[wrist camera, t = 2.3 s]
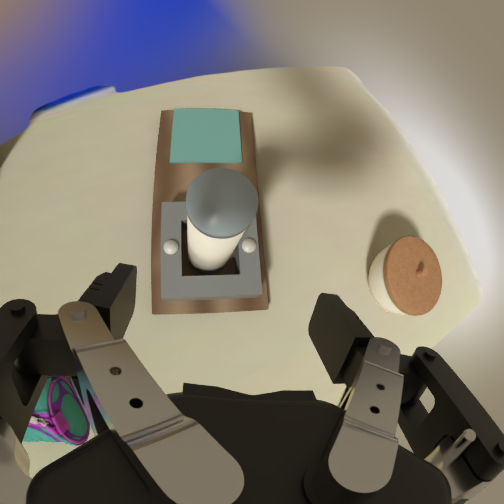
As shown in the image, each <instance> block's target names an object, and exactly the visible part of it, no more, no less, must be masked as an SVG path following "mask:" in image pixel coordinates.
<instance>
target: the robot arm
mask: <svg viewBox="0 0 504 504" xmlns="http://www.w3.org/2000/svg"><path fill="white" fill-rule="evenodd" d="M136 276H137V267H136V266H133V265H128V264H122V263H119V264H118V265H117V266H116V268H115V269H114V270H113V272H112V273H108V272H105V273H103V274H101V275H99V276H97V277H96V278H95V280H94V281H93V282H92V284H91V285H90V286H89V287H88V288H87V290H86V291H85V292H84V294H83V295H82V296H81V297H80V299H79V300H78V301H75V302H69V303H66V304H64V305H63V306H62V307H60V309H59V311H58V314H56V315H45V314H37V311H36V306H35V305H34V303H32V302H31V301H29V300H25V299H16V300H11V301H9V302H7V303H5V304H4V305H3V306H2V307H1V308H0V504H464V503H465V502H466V501H467V500H469V499H470V498H472V497H474V496H475V495H476V494H478V493H479V492H480V491H481V490H482V489H484V488H485V487H486V486H487V485H488V484H489V483H491V482H492V481H493V480H494V479H495V478H496V476H497V475H498V474H499V473H500V472H501V471H502V470H504V434H503V433H502V432H501V430H500V429H499V428H498V426H497V425H496V424H495V422H494V421H493V420H492V418H491V417H490V416H489V414H488V413H487V412H486V411H485V409H484V408H483V407H482V405H481V404H480V403H479V402H478V400H477V399H476V398H475V397H474V396H473V394H472V393H471V392H470V390H469V389H468V388H467V387H466V385H465V384H464V383H463V382H462V381H461V379H460V378H459V377H458V376H457V375H456V373H455V372H454V371H453V370H452V369H451V368H450V366H449V365H448V364H447V363H446V362H445V361H444V359H443V358H442V357H441V356H440V355H439V354H438V353H437V352H435V351H434V350H432V349H430V348H427V347H417V348H416V350H415V352H414V354H413V355H412V356H407V355H402V354H400V349H399V348H398V346H397V345H395V344H394V343H393V342H391V341H389V340H387V339H384V338H380V337H374V336H373V335H372V333H371V332H370V331H369V330H368V328H367V327H366V326H365V325H364V324H363V322H362V321H361V320H360V319H359V317H358V316H357V315H356V313H355V312H354V311H352V310H351V309H350V308H348V307H347V306H346V305H345V303H344V302H343V301H342V300H341V298H340V297H339V296H338V295H335V294H327V293H321V294H320V295H319V297H318V299H317V302H316V305H315V308H314V311H313V314H312V317H311V320H310V323H309V336H310V338H311V340H312V342H313V344H314V346H315V348H316V350H317V352H318V354H319V356H320V358H321V360H322V362H323V364H324V366H325V368H326V370H327V372H328V374H329V376H330V378H331V380H332V382H333V384H340V383H345V384H346V388H345V390H344V392H343V394H342V396H341V399H340V401H339V403H338V405H337V406H336V405H333V404H331V403H328V402H325V401H321V400H316V398H315V395H314V393H313V391H278V392H272V393H266V394H260V395H248V394H243V393H239V392H235V391H231V390H228V389H224V388H220V387H215V386H206V385H197V384H189V383H184V384H183V392H180V393H172V394H167V395H166V394H165V393H164V392H163V390H162V389H161V388H160V387H159V385H158V384H157V383H156V382H155V380H154V379H153V378H152V376H151V375H150V374H149V372H148V371H147V370H146V368H145V367H144V366H143V364H142V363H141V362H140V360H139V359H138V357H137V356H136V355H135V353H134V352H133V350H132V349H131V348H130V346H129V345H128V343H127V342H126V340H125V339H123V337H124V334H125V332H126V329H127V327H128V324H129V322H130V320H131V317H132V315H133V312H134V307H135V297H136ZM49 376H69V377H70V380H71V382H72V385H73V387H74V389H75V392H76V394H77V396H78V398H79V401H80V403H81V405H82V407H83V409H84V411H85V413H86V416H87V418H88V421H89V423H90V426H91V428H92V431H93V433H94V435H95V437H94V438H92V439H90V440H89V441H87V442H86V443H84V444H82V445H81V446H79V447H77V448H76V449H74V450H73V451H71V452H69V453H68V454H66V455H64V456H63V457H61V458H59V459H57V460H56V461H54V462H52V463H51V464H49V465H47V466H46V467H44V468H43V469H41V470H40V471H39V472H38V473H37V474H36V475H35V476H34V477H33V479H32V478H30V475H29V467H30V460H29V456H28V454H27V452H26V450H25V449H24V447H23V446H22V441H23V438H24V435H25V433H26V430H27V427H28V425H29V422H30V419H31V417H32V414H33V412H34V409H35V407H36V404H37V402H38V400H39V397H40V395H41V393H42V390H43V388H44V386H45V384H46V381H47V379H48V377H49ZM427 387H428V389H429V390H430V391H431V393H432V394H433V396H434V398H435V405H434V408H433V409H432V410H431V412H430V413H429V414H428V412H427V410H426V409H425V407H424V406H423V404H422V403H421V401H420V400H419V398H420V397H421V395H422V394H423V392H424V391H425V389H426V388H427ZM397 423H398V424H399V426H400V428H401V429H402V431H403V433H404V435H405V437H406V439H407V440H408V443H409V445H410V447H411V448H412V450H413V452H414V453H412V452H410V451H409V450H407V449H405V448H404V447H402V446H400V445H399V444H398V439H397V438H396V437H395V433H396V428H397Z"/></svg>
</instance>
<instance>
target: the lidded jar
mask: <svg viewBox="0 0 504 504" xmlns="http://www.w3.org/2000/svg"><path fill="white" fill-rule="evenodd" d="M368 284H369V290H370V293H371V295H372V297H373V299H374V301H375V302H376V303H377V304H378V306H379V307H381V308H382V309H383V310H385V311H387V312H388V313H391V314H394V315H400V316H409V315H413V316H416V315H423V314H425V313H427V312H429V311H430V310H431V309H432V308H433V307H434V306H435V304H436V303H437V301H438V299H439V296H440V293H441V287H442V274H441V269H440V265H439V262H438V259H437V257H436V255H435V253H434V251H433V250H432V249H431V247H430V246H429V245H428V244H427V243H426V242H424V241H423V240H421V239H420V238H418V237H415V236H405V237H402V238H400V239H398V240H396V241H395V242H394V243H392V244H390V245H388V246H387V247H385V248H384V249H383V250H382V251H381V252H380V253H379V254H378V255H377V256H376V257H375V259H374V260H373V262H372V264H371V267H370V270H369V275H368Z"/></svg>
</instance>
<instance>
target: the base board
mask: <svg viewBox="0 0 504 504" xmlns="http://www.w3.org/2000/svg"><path fill="white" fill-rule="evenodd" d="M173 116H174V110H167V111H161V119H160V127H159V135H158V144H157V154H156V165H155V178H154V193H153V212H152V243H151V287H152V314H193V313H217V312H237V311H253V310H266V309H268V297H267V285H266V273H265V262H264V250H263V239H262V228H261V217H260V206H259V195H258V185H257V174H256V164H255V154H254V143H253V133H252V124H251V114H250V113H247V112H239V126H240V140H241V154H242V164H232V163H170V151H171V138H172V127H173ZM213 168H228V169H232V170H235V171H238V172H240V173H241V174H243V175H244V176H246V177H247V178H248V179H249V180H250V181H251V183H252V184H253V185H254V187H255V189H256V192H257V195H258V209H257V213H256V223H257V235H258V246H259V258H260V270H261V282H262V295H260V296H258V297H256V298H237V299H215V300H187V301H164V300H163V299H162V298H161V209H162V202H186V194H187V190H188V188H189V186H190V184H191V182H192V181H193V180H194V179H195V178H196V177H197V176H198V175H199V174H201V173H202V172H204V171H207V170H209V169H213ZM212 275H235V263H234V251H233V253H232V255H231V257H230V258H229V260H228V262H227V264H226V265H225V267H224V268H223V269H222V270H221V271H220V272H218V273H216V274H212ZM182 276H208V275H205V274H201V273H199V272H197V271H196V270H194V269H193V268H192V266H191V265H190V263H189V260H188V243H187V230H182Z"/></svg>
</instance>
